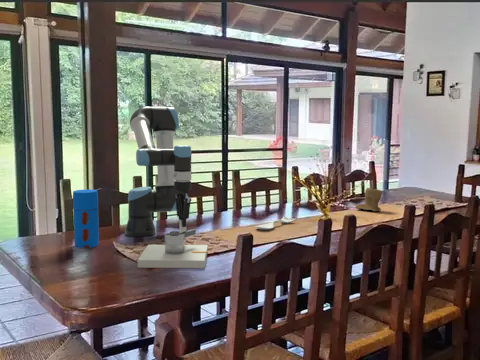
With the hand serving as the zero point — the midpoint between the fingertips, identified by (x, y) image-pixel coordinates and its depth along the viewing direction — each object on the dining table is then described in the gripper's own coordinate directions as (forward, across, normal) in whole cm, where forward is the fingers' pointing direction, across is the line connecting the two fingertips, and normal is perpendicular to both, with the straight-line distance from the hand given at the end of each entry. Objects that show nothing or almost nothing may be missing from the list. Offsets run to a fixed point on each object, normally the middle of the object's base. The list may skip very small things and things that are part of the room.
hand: (182, 233), depth 218 cm
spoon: (+8, -22, +65) cm, 69 cm away
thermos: (+8, -29, -35) cm, 46 cm away
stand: (+8, +12, -9) cm, 17 cm away
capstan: (+4, +9, -5) cm, 11 cm away
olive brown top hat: (+8, -33, +147) cm, 151 cm away
